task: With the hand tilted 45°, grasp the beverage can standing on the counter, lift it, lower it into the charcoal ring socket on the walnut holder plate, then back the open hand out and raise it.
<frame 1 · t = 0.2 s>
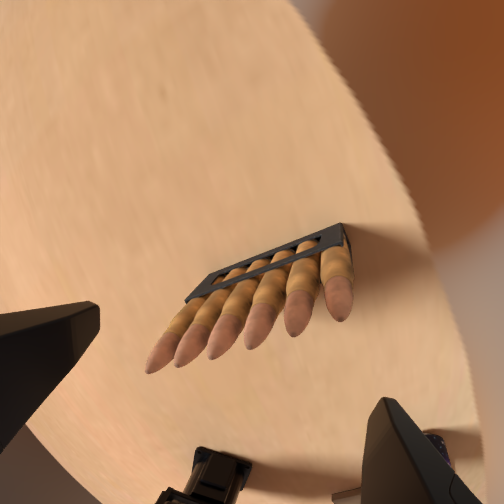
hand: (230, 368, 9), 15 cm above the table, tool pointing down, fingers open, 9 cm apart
beverage can: (417, 444, 26), on the table
can holder: (400, 502, 28), on the table
ammunition clip: (276, 260, 24), on the table
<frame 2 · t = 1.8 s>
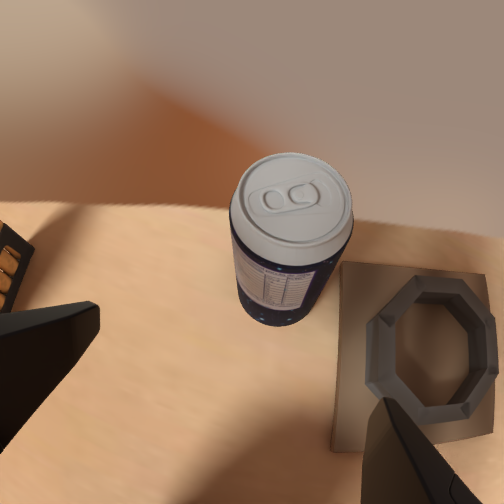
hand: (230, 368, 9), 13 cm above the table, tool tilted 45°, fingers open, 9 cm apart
beverage can: (276, 293, 24), on the table
can holder: (422, 356, 22), on the table
ammunition clip: (10, 297, 24), on the table
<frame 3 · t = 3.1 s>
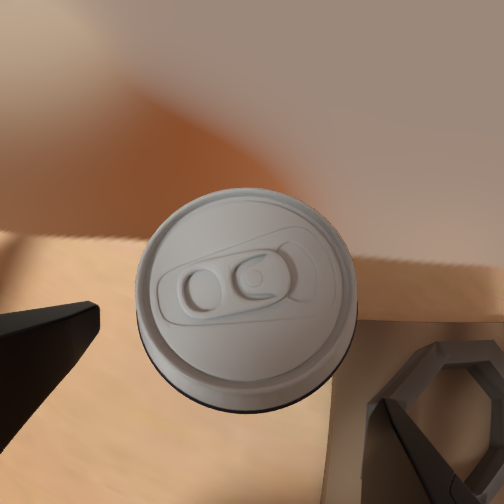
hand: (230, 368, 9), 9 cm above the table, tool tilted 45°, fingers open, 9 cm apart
beverage can: (249, 361, 18), on the table
can holder: (435, 433, 15), on the table
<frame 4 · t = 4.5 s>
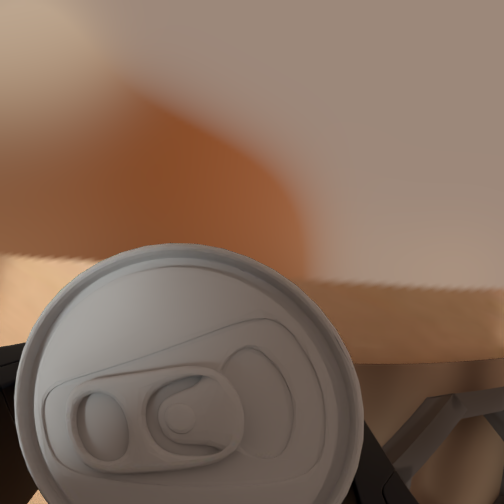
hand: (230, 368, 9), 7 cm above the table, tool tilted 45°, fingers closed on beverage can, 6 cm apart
beverage can: (229, 410, 14), on the table, touching gripper
can holder: (442, 483, 12), on the table
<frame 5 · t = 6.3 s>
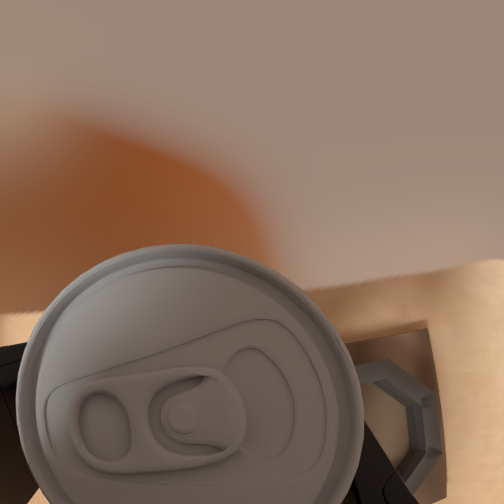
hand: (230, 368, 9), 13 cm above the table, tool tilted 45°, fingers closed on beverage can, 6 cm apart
beverage can: (228, 409, 14), point 7 cm above the table, touching gripper
can holder: (350, 440, 19), on the table
when the fingers open (9 cm above the table, at t = 8.3 s): beverage can drops 1 cm, resting on can holder.
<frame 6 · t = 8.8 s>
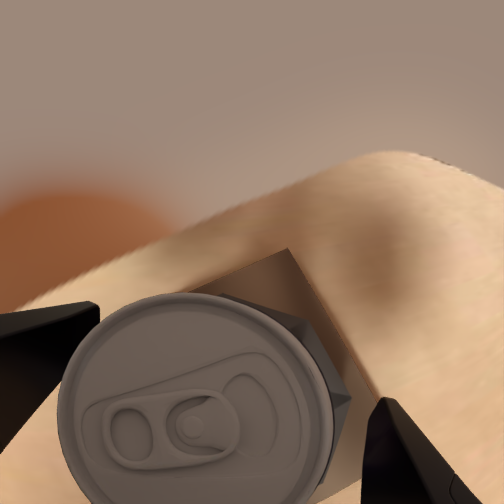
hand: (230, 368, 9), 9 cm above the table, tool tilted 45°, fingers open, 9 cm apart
beverage can: (229, 413, 15), point 1 cm above the table, touching can holder
can holder: (232, 409, 16), on the table
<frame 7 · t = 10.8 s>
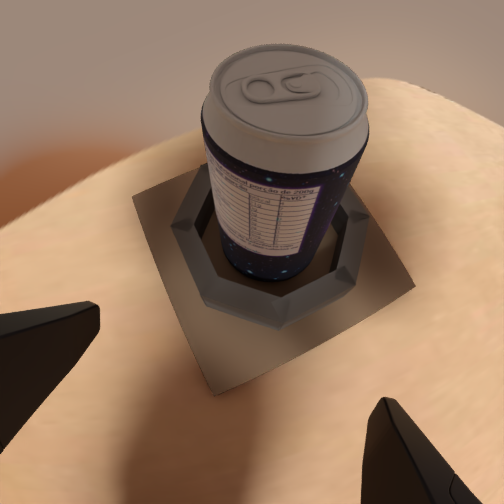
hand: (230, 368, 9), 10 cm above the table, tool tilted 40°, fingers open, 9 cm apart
beverage can: (268, 243, 20), point 1 cm above the table, touching can holder
can holder: (269, 245, 21), on the table
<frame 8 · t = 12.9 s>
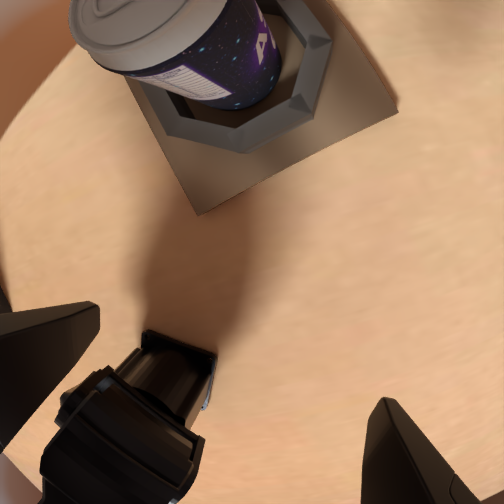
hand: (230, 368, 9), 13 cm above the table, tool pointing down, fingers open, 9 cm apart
beverage can: (237, 70, 18), point 1 cm above the table, touching can holder
can holder: (242, 69, 18), on the table
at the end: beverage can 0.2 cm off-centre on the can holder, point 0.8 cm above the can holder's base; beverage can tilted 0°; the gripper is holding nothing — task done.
